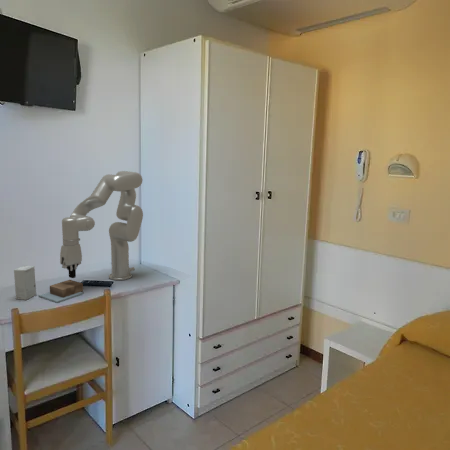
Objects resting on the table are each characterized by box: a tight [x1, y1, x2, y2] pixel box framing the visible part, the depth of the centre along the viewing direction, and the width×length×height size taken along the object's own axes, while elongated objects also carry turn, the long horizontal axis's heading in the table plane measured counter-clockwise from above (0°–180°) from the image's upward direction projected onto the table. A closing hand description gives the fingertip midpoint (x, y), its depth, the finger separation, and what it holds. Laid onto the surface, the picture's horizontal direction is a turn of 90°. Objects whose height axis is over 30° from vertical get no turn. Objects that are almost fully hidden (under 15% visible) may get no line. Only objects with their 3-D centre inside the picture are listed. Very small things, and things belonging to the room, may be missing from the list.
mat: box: [38, 291, 84, 304], centre depth 210 cm, size 15×14×1 cm
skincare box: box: [13, 265, 37, 301], centre depth 206 cm, size 8×6×15 cm
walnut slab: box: [49, 279, 84, 298], centre depth 212 cm, size 4×10×12 cm
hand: (72, 277), depth 214 cm, fingers closed
